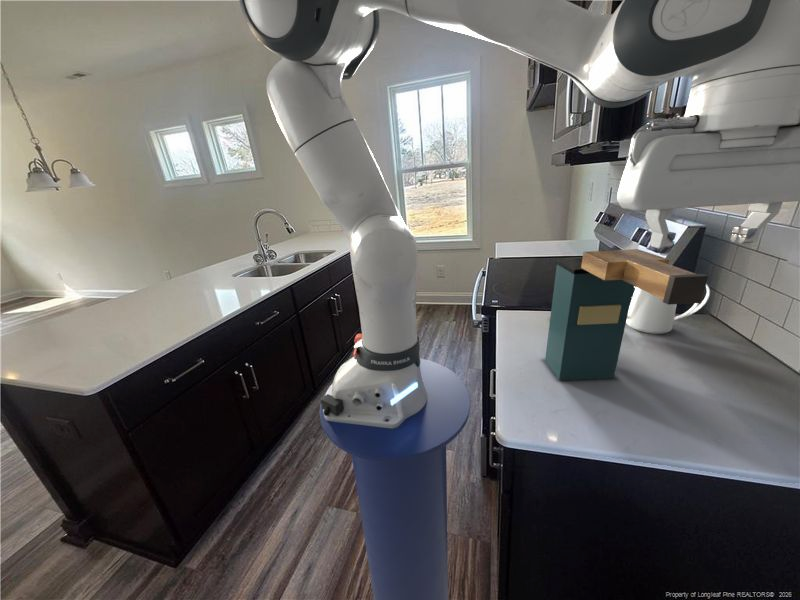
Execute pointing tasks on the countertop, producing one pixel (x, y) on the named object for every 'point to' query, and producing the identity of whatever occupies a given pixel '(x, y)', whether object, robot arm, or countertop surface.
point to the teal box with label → (585, 323)
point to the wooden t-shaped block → (647, 274)
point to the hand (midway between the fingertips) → (701, 244)
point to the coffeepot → (655, 312)
